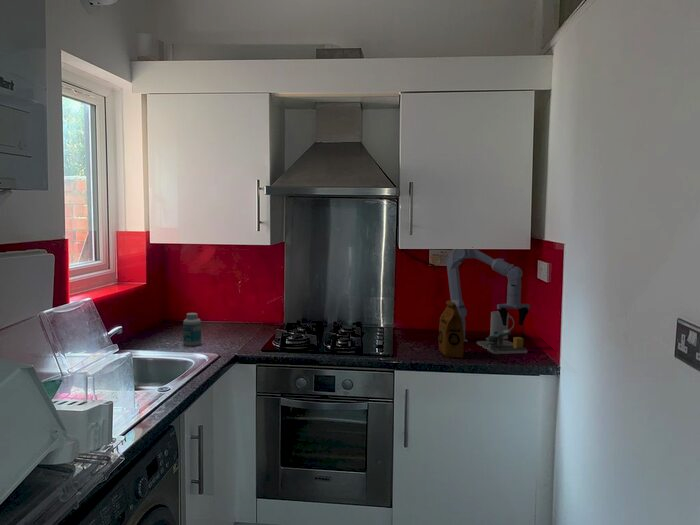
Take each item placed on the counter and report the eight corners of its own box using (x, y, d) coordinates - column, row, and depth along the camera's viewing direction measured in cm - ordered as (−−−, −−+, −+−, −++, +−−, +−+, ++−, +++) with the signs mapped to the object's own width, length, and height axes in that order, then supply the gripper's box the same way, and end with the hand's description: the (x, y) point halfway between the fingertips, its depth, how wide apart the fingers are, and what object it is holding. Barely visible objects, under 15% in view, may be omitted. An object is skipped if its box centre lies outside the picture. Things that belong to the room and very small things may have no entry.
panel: (494, 354, 223) (494, 340, 223) (476, 343, 241) (477, 331, 241) (527, 353, 226) (527, 340, 226) (507, 342, 244) (507, 330, 243)
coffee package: (441, 358, 215) (443, 304, 213) (436, 350, 228) (438, 299, 226) (466, 358, 215) (468, 305, 213) (459, 350, 228) (461, 300, 226)
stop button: (490, 342, 230) (490, 338, 230) (487, 340, 234) (487, 336, 234) (498, 342, 231) (498, 337, 231) (494, 340, 235) (495, 335, 234)
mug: (510, 335, 259) (512, 311, 258) (517, 339, 250) (518, 314, 249) (487, 335, 258) (488, 311, 257) (492, 339, 250) (493, 314, 249)
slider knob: (516, 349, 227) (516, 338, 226) (513, 347, 230) (513, 337, 229) (522, 349, 227) (523, 338, 227) (519, 347, 230) (519, 337, 230)
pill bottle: (180, 344, 231) (179, 313, 230) (195, 341, 236) (195, 311, 235) (189, 347, 226) (188, 316, 225) (204, 344, 231) (204, 313, 230)
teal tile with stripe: (490, 342, 236) (489, 339, 236) (486, 339, 240) (485, 337, 240) (511, 333, 237) (510, 331, 237) (507, 331, 242) (506, 329, 241)
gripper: (502, 296, 229) (501, 327, 230) (533, 295, 231) (532, 326, 232) (495, 293, 236) (494, 323, 237) (526, 293, 238) (524, 323, 239)
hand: (512, 325), depth 235 cm, fingers open, 7 cm apart
